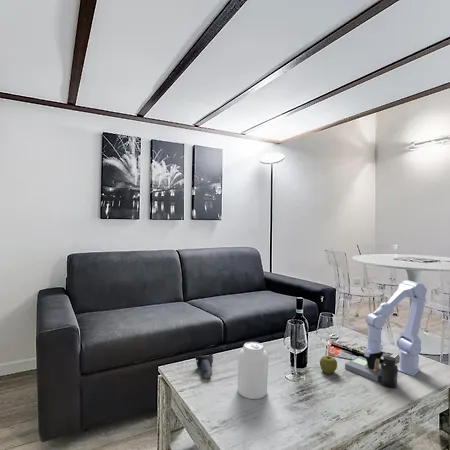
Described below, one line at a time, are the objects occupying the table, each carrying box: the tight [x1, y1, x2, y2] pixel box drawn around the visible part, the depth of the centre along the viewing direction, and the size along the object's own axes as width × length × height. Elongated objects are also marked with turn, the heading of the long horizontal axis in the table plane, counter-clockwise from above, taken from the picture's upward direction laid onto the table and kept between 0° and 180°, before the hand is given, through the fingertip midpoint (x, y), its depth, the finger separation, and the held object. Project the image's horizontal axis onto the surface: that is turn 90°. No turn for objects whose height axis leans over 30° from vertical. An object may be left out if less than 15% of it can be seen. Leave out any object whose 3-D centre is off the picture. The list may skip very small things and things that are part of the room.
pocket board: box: [344, 355, 381, 383], centre depth 157 cm, size 14×16×3 cm
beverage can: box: [194, 353, 214, 380], centre depth 151 cm, size 9×8×12 cm
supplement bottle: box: [379, 355, 399, 389], centre depth 144 cm, size 7×7×12 cm
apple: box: [319, 355, 338, 375], centre depth 154 cm, size 8×8×7 cm
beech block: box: [367, 358, 381, 372], centre depth 153 cm, size 4×4×7 cm
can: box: [237, 341, 269, 400], centre depth 135 cm, size 12×12×20 cm
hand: (373, 367), depth 153 cm, fingers closed on beech block, 4 cm apart
